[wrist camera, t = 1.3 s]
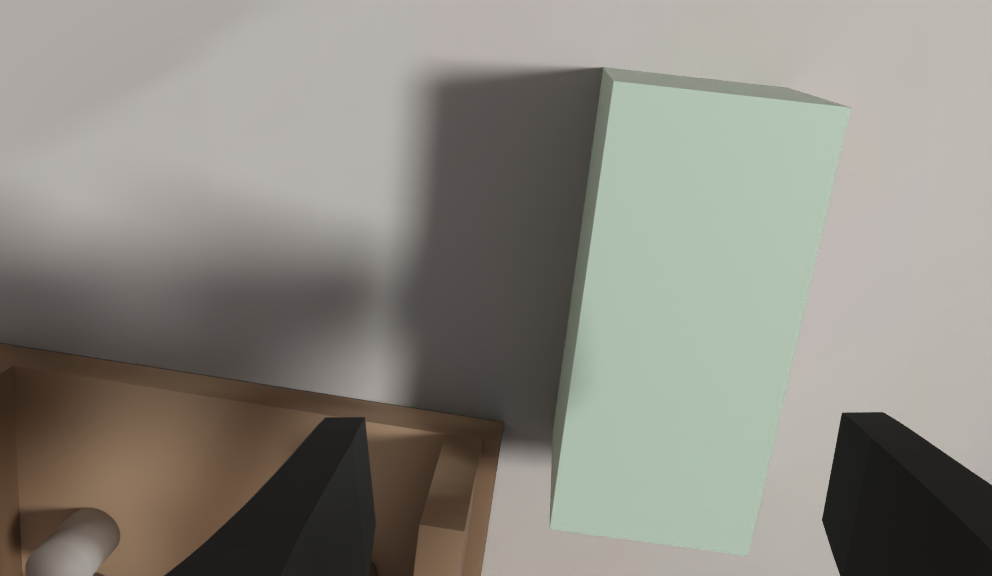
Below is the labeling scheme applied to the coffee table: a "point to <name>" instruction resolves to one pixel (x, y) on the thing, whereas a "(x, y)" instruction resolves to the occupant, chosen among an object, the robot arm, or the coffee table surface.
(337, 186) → the coffee table surface
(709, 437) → the pale green rectangular block
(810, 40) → the coffee table surface
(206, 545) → the robot arm
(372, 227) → the coffee table surface
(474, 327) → the coffee table surface
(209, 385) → the shelf frame
